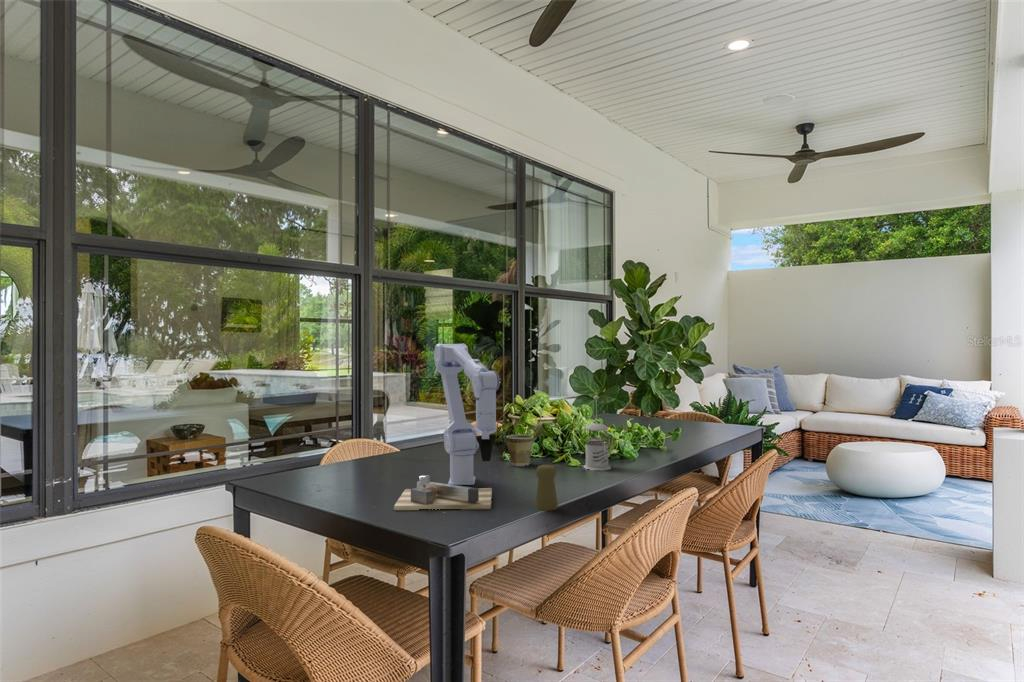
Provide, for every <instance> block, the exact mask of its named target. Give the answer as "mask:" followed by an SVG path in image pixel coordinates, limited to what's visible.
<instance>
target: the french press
mask: <svg viewBox="0 0 1024 682" xmlns="http://www.w3.org/2000/svg"><path fill="white" fill-rule="evenodd" d="M593 399H594V400H595V411H596V412H595V423H590V424H589V425H587V426H585V427H584V429H585V430H586V431H592V432H595V433H596V435H595V437H590V438H586V439H585V440H586V443H585V447H584V448H585V449H584V451H585V464H584V465H583V466H582V468H583V467H584V468H585V469H584V468H583V469H584V470H587V469H590V470H589V471H595V470H601V471H609V470H611V469H612V467H611V466H610V465H609V452H610V451H611V449H612V448H613V444H614V440H613V439H614V438H613V435H612V433H611V432H609V431H608V430H609V427H608V426H607V425H605V424H604V423H603V424H602V423H599V422H598V413H597V412H598V411H597V409H598V408H597V406H598V401H597V399H598V400H599V399H600V396H599V395H594V396H593ZM599 431H600V432H602V434H603V436H607V437H608V439H607V438H604V437H603V438H601V437H600V438H599V437H598V432H599ZM604 432H605V433H604ZM610 437H611V439H612V440H611V439H610ZM610 440H611V441H610ZM607 441H608V443H607ZM605 442H606V443H605ZM610 443H611V447H610ZM609 447H610V449H609Z"/></svg>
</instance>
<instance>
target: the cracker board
mask: <svg viewBox="0 0 1024 682" xmlns="http://www.w3.org/2000/svg"><path fill="white" fill-rule="evenodd" d="M477 488H478V487H477ZM411 489H412V488H405V489H404V491H403V492H402V493H401V495H400V496H399V497H398V498H397V501H396V502H395V504H394V505H393V510H394V511H420V510H419V509H429V510H428V511H440V509H461V510H491V509H492V500H493V499H492V497H493V496H492V495H493V487H483V488H481V487H480V488H478V492H479V501H477V502H475V503H474V502H468V501H463V500H456V499H450V498H444V497H437V496H436V497H435V498H434V499H433V503H431V504H427V505H425V504H421V503H417V502H412V501H411ZM491 499H492V500H491ZM430 509H432V510H430ZM433 509H435V510H433ZM437 509H439V510H437Z"/></svg>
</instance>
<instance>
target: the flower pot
mask: <svg viewBox="0 0 1024 682" xmlns="http://www.w3.org/2000/svg"><path fill="white" fill-rule="evenodd" d="M505 440H506V446H507V449H508V452H509V453H508V455H509V460H510V461H509V462H510V464H511V466H513V465H514V467H526V466H525V465H527V466H530V462H531V460H530V459H531V454H532V449H533V446H534V440H535V436H534V435H531V434H523V433H522V434H520V433H519V434H510V435H509V434H508V435H506V436H505Z"/></svg>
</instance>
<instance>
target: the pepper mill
mask: <svg viewBox="0 0 1024 682" xmlns="http://www.w3.org/2000/svg"><path fill="white" fill-rule="evenodd" d="M535 473H536V477H537V478H538V479H537V488H536V495H535V502H534V503H535V505H534V508H535V509H536V508H537V509H536V510H538V509H540V510H539V511H554V510H555V511H556V510H558V509H559V505H558V498H557V491H556V484H555V478H556V475H557V468H556V467H555V465H550V464H542V465H538V466H537V468H536V469H535Z"/></svg>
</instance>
